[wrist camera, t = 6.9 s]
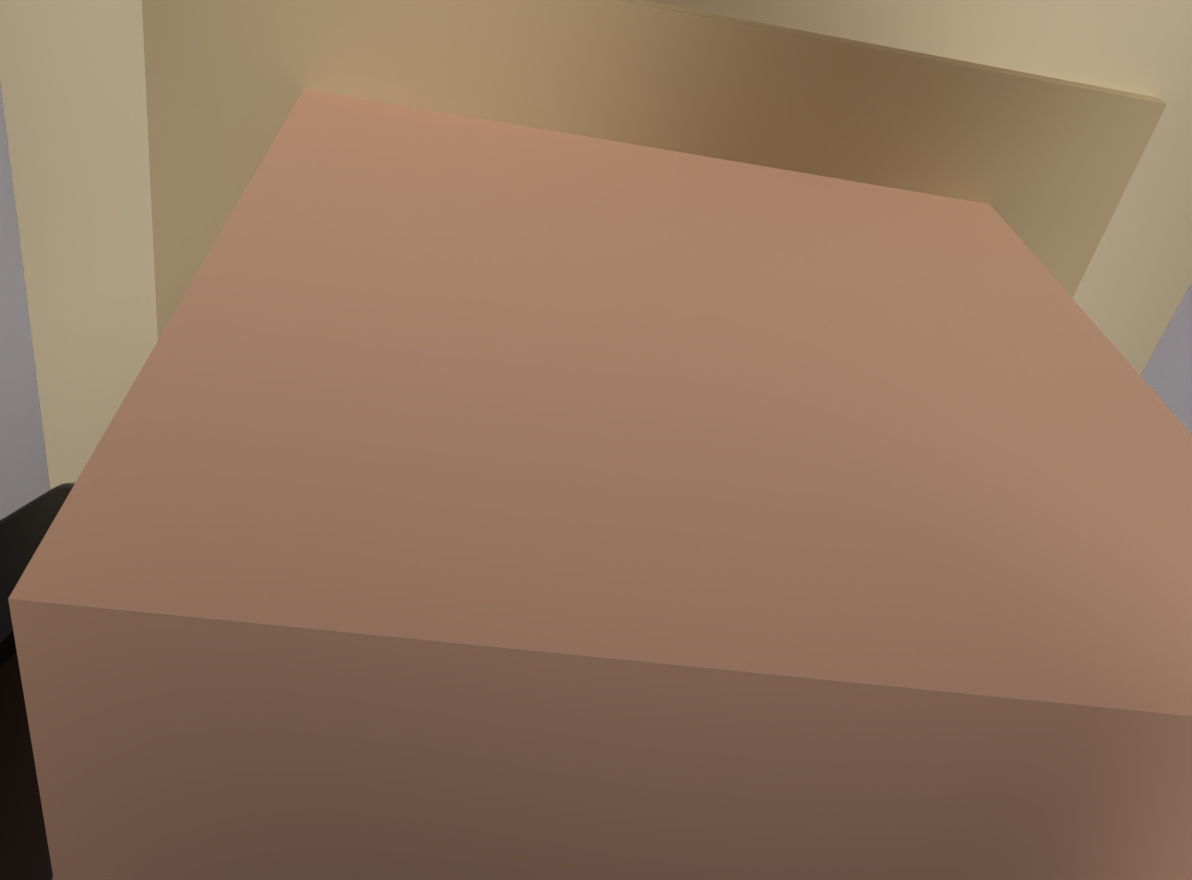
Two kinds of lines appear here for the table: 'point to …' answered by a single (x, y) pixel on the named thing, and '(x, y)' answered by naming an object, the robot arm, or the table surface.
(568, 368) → the cube
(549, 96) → the plinth
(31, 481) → the table surface
